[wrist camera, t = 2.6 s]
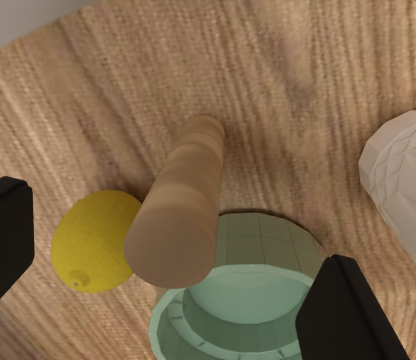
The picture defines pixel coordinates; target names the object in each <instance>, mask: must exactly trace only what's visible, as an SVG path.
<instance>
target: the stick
mask: <svg viewBox="0 0 416 360" xmlns="http://www.w3.org/2000/svg"><path fill="white" fill-rule="evenodd" d="M224 144H225V131H224V127H223V125H222V124H221V122H220V121H219V120H218V119H216V118H215V117H213V116H211V115H207V114H199V115H196V116H193V117H192V118H190V119H189V120H188V121H187V122H186V124H185V126H184V127H183V129H182V131H181V133H180V135H179V137H178V139H177V140H176V142H175V144H174V146H173V148H172V150H171V152H170V154H169V155H168V157H167V159H166V161H165V163H164V165H163V167H162V168H161V170H160V172H159V174H158V176H157V178H156V180H155V182H154V183H153V185H152V187H151V189H150V191H149V193H148V195H147V196H146V198H145V200H144V202H143V204H142V206H141V208H140V209H139V211H138V213H137V215H136V217H135V219H134V221H133V223H132V224H131V226H130V228H129V230H128V232H127V234H126V236H125V239H124V243H123V250H124V256H125V259H126V261H127V264H128V265H129V267H130V268H131V269H132V271H133V272H134V273H135V274H136V275H137V276H139V277H140V278H141V279H143V280H144V281H146V282H148V283H150V284H152V285H155V286H157V287H161V288H166V289H182V288H187V287H191V286H194V285H196V284H198V283H199V282H201V281H202V280H204V279H205V278H206V277H207V276H208V274H209V273H210V272H211V270H212V268H213V266H214V263H215V256H216V244H217V231H218V219H219V206H220V194H221V181H222V169H223V156H224Z"/></svg>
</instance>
